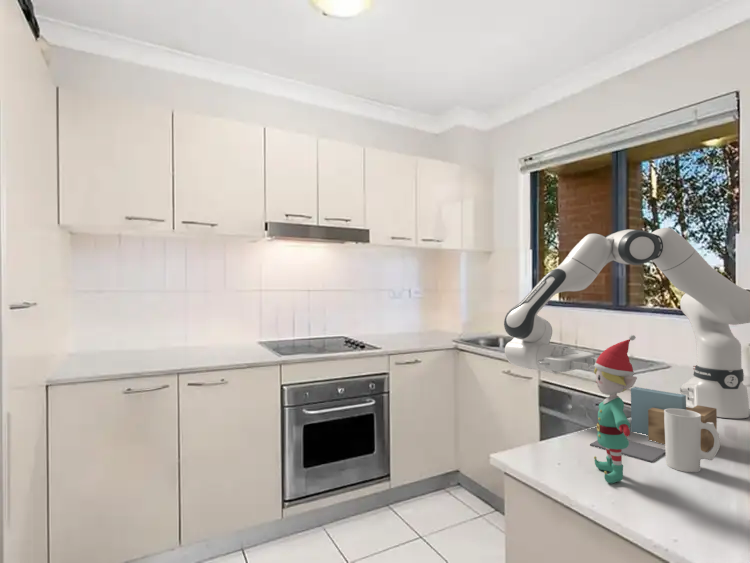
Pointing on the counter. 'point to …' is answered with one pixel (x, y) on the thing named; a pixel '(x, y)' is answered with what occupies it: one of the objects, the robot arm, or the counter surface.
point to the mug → (686, 439)
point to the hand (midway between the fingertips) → (596, 365)
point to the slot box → (707, 413)
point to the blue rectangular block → (651, 405)
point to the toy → (613, 407)
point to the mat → (639, 451)
